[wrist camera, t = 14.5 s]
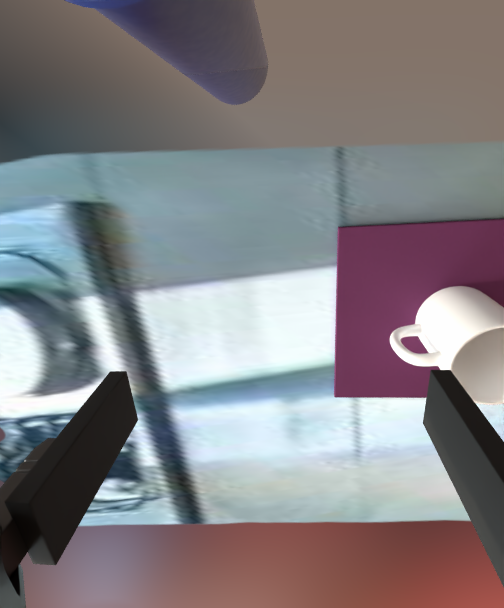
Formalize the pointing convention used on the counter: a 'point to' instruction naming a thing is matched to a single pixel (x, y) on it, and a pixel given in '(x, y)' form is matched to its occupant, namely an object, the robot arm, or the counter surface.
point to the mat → (403, 295)
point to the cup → (460, 340)
